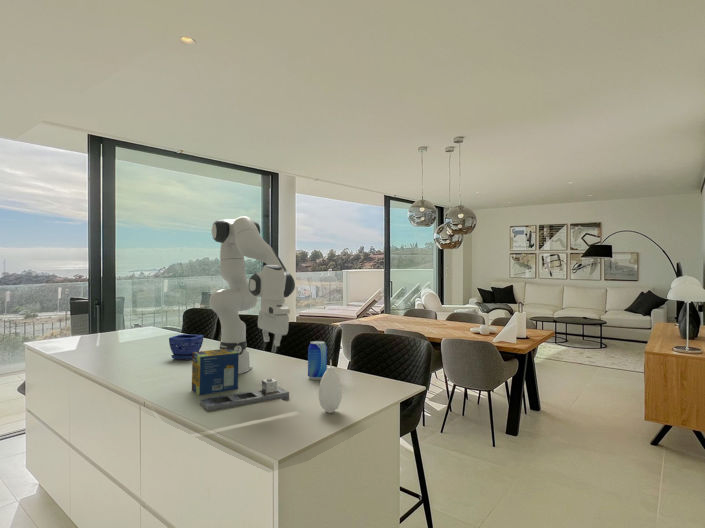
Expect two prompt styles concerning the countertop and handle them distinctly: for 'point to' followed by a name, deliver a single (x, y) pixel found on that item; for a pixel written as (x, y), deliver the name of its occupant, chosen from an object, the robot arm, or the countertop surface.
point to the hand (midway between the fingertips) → (271, 343)
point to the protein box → (214, 371)
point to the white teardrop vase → (330, 390)
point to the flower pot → (185, 345)
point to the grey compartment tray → (241, 399)
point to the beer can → (317, 360)
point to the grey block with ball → (269, 386)
